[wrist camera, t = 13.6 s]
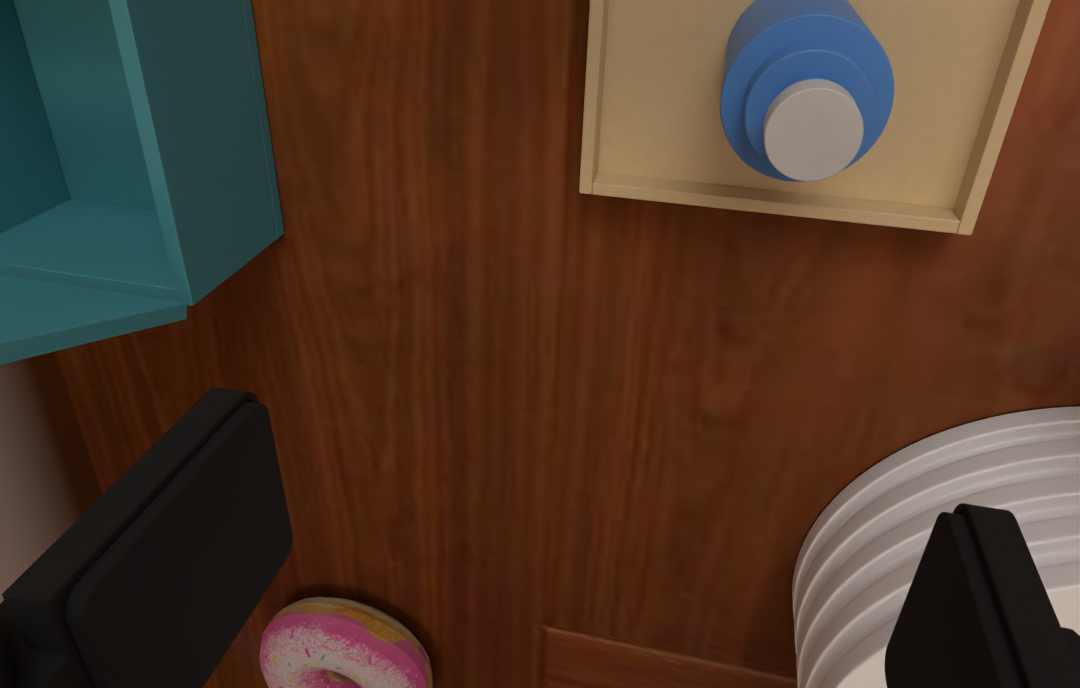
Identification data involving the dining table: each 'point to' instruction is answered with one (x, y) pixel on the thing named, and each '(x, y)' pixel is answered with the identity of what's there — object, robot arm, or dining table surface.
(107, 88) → the teal wooden box
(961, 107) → the tray
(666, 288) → the dining table surface
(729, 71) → the bottle
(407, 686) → the donut
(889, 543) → the plate stack
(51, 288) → the lid
